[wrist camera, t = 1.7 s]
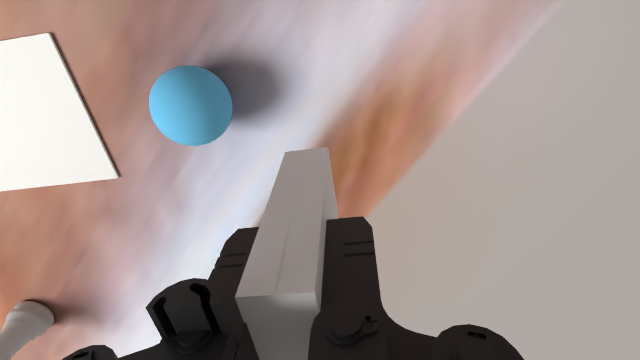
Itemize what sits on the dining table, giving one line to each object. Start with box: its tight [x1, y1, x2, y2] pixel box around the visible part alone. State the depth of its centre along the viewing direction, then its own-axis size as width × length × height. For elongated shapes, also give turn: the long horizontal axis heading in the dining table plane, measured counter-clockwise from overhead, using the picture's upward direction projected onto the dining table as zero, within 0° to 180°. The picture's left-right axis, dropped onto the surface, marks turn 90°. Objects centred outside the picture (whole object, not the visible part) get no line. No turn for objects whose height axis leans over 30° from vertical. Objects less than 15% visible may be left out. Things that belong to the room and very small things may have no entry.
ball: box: [149, 66, 233, 146], centre depth 25 cm, size 6×6×6 cm
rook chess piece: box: [0, 301, 54, 360], centre depth 37 cm, size 4×4×8 cm
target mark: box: [0, 33, 119, 191], centre depth 29 cm, size 12×12×1 cm
